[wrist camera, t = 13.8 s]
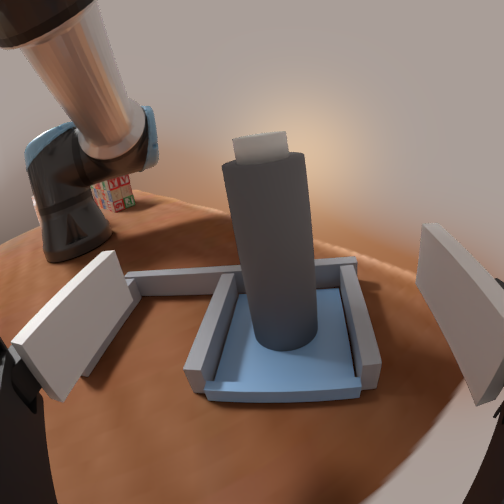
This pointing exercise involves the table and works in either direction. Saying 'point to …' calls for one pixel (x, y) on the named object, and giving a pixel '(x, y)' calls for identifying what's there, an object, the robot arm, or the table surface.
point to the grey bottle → (274, 239)
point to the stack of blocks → (114, 194)
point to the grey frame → (254, 354)
